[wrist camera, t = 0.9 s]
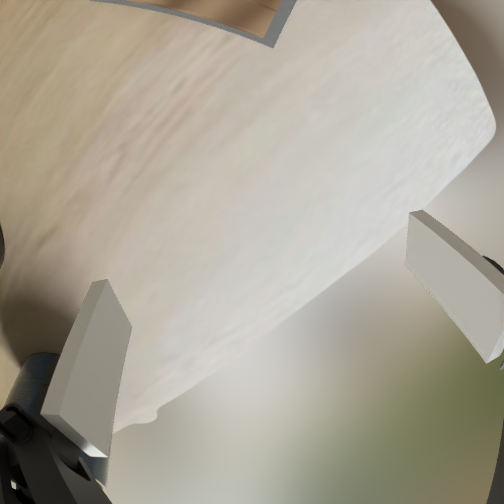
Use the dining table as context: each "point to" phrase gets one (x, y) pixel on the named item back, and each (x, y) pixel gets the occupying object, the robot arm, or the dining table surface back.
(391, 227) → the dining table surface
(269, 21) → the laid board
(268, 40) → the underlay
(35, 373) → the planter
